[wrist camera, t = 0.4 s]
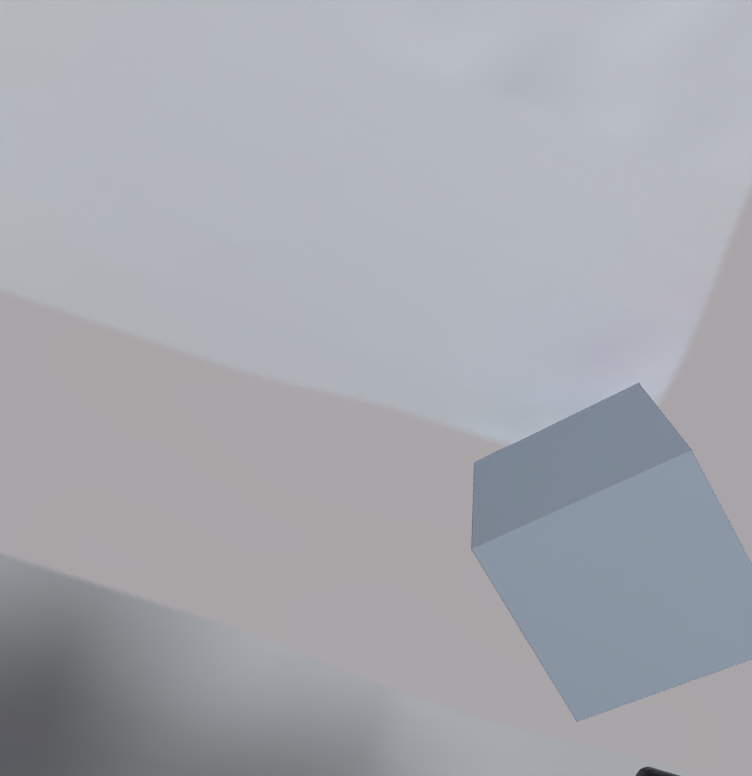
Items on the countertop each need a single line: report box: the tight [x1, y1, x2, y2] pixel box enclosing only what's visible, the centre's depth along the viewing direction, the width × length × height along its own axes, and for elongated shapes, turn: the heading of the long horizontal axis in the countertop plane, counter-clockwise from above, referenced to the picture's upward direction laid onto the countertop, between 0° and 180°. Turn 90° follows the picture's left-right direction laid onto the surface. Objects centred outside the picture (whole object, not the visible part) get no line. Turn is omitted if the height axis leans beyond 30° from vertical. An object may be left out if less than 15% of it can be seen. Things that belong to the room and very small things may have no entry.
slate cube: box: [471, 383, 752, 722], centre depth 17 cm, size 5×5×5 cm
